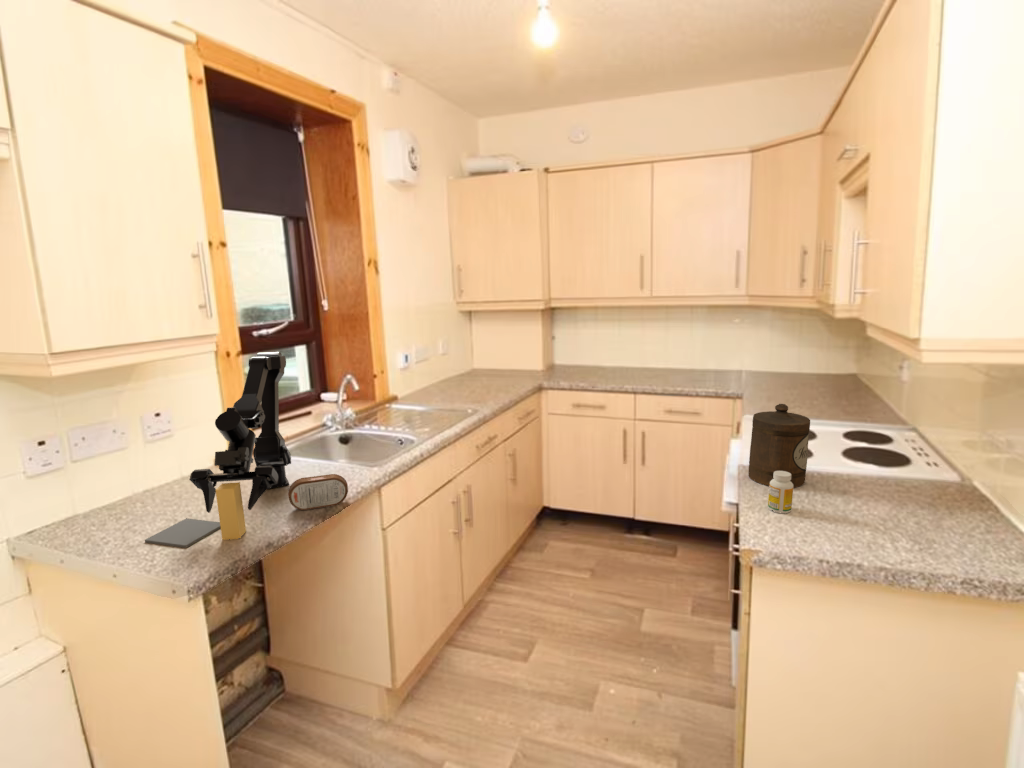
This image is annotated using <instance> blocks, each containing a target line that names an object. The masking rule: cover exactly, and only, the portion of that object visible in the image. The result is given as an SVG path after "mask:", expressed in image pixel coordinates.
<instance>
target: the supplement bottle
mask: <svg viewBox="0 0 1024 768" xmlns="http://www.w3.org/2000/svg"><path fill="white" fill-rule="evenodd" d="M773 478H774V479H772V480H771V481H770V485H769V488H768V498H767V499H768V500H767V509H768V510H769V509H770V510H769V511H771V510H773V511H775V512H774V513H776V512H781V513H785V514H789V513H790V512H792V509H793V508H792V507H793V506H792V505H793V496H794V495H793V494H794V487H793V483H792V482H791V481H790V480H791V473H789V472H786V471H775V472H774V474H773ZM773 511H772V512H773ZM788 512H789V513H788ZM781 513H780V514H781Z"/></svg>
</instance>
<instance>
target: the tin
mask: <svg viewBox="0 0 1024 768" xmlns="http://www.w3.org/2000/svg"><path fill="white" fill-rule="evenodd" d="M348 494H349V486H348V482H347V480H346V479H345V478H344V477H343V476H341V474H340V475H339V474H336V473H331V474H329V473H328V474H322V475H316V476H315V475H313V476H307V477H300V478H298V479H296V480H295V481H293V482H291V485H290V486H289V488H288V493H287V495H288V500H289V504H290V505H292V507H294V508H295V509H296V510H300V511H307V510H314V509H320V508H328V507H329V508H330V507H334V506H335V507H336V506H338V505H339V504H342V503H343V502H344V501H345V500H346V498H347V497H348Z"/></svg>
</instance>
